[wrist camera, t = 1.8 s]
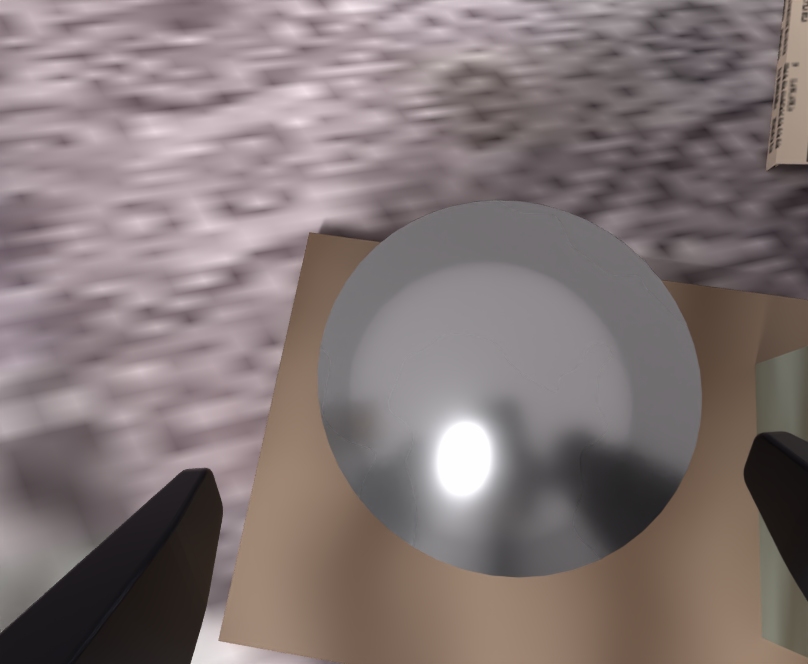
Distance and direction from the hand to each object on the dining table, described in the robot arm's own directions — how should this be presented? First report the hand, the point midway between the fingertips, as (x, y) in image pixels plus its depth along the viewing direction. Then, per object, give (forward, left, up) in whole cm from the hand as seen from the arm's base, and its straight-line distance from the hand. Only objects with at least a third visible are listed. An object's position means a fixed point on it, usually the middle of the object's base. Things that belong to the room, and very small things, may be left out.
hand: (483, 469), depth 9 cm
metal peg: (+1, 0, -8) cm, 8 cm away
